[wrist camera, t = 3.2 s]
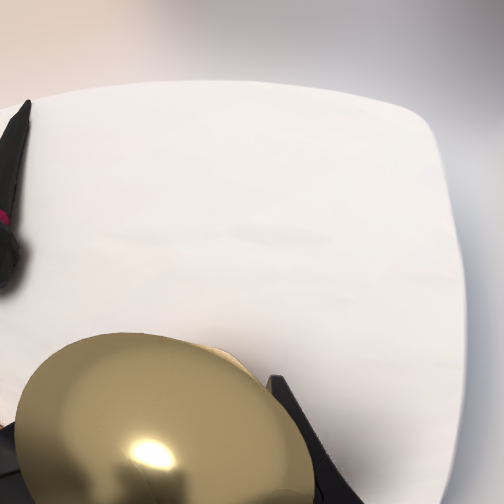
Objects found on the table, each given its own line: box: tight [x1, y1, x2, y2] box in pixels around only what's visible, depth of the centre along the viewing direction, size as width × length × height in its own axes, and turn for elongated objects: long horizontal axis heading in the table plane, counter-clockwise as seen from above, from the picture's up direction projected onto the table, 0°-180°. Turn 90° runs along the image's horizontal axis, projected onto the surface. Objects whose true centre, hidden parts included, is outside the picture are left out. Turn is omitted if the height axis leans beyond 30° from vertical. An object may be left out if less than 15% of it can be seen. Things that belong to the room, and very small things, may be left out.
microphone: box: [0, 100, 31, 288], centre depth 17 cm, size 6×6×20 cm
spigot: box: [14, 333, 314, 504], centre depth 9 cm, size 5×5×13 cm
